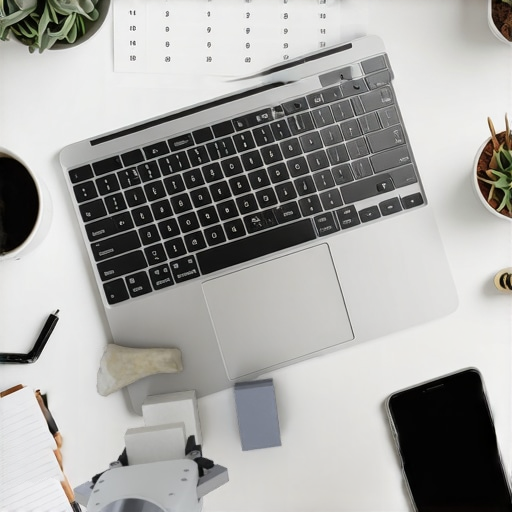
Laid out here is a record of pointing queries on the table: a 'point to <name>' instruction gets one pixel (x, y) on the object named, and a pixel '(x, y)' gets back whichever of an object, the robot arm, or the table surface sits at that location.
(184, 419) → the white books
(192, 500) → the robot arm
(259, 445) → the grey-blue block
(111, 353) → the stone
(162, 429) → the white book
